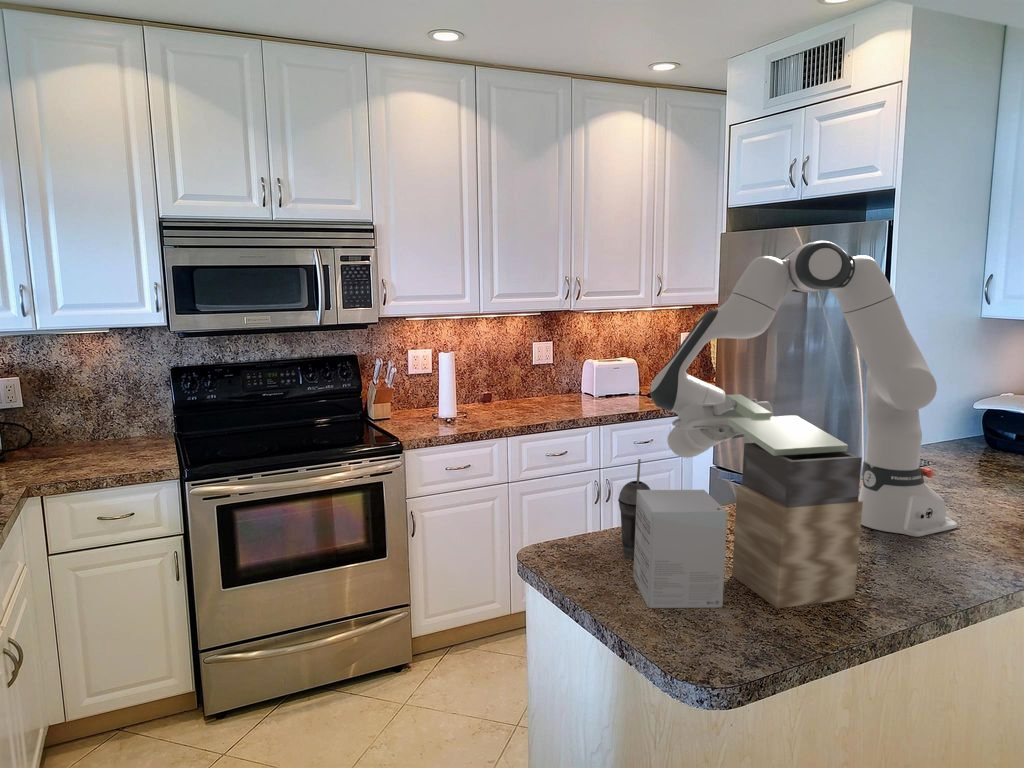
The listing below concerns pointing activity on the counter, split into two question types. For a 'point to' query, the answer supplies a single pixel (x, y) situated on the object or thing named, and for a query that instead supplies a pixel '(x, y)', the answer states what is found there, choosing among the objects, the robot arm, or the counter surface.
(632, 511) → the beverage cup
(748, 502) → the tub stand
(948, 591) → the counter surface
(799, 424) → the lid
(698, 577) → the supplement box
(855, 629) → the counter surface
